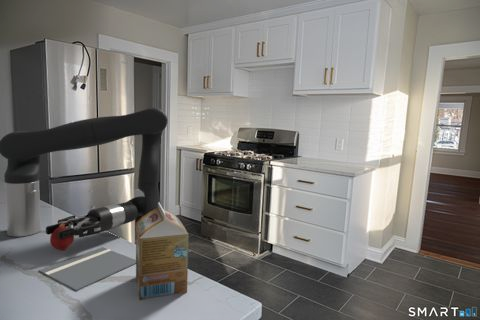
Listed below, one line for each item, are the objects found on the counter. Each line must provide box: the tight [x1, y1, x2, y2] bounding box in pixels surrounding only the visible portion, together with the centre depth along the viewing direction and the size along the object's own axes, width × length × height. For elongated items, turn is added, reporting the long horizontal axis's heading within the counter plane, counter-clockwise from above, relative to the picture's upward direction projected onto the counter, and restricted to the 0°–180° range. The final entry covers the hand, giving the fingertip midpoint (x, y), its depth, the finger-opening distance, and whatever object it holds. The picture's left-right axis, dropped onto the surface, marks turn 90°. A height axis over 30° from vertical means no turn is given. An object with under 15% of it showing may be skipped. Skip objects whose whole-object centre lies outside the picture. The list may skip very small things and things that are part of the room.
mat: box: [38, 246, 136, 292], centre depth 83 cm, size 16×18×1 cm
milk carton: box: [135, 202, 190, 301], centre depth 74 cm, size 11×10×19 cm
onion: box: [49, 224, 75, 252], centre depth 89 cm, size 6×6×8 cm
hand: (52, 233), depth 86 cm, fingers closed on onion, 5 cm apart
